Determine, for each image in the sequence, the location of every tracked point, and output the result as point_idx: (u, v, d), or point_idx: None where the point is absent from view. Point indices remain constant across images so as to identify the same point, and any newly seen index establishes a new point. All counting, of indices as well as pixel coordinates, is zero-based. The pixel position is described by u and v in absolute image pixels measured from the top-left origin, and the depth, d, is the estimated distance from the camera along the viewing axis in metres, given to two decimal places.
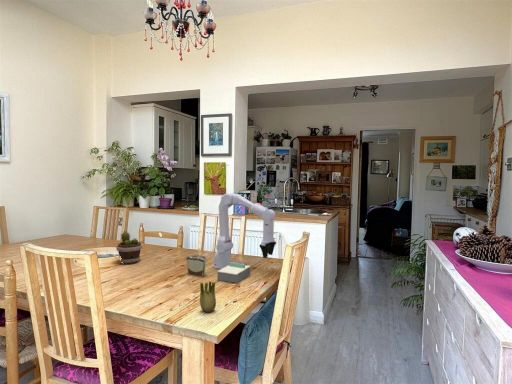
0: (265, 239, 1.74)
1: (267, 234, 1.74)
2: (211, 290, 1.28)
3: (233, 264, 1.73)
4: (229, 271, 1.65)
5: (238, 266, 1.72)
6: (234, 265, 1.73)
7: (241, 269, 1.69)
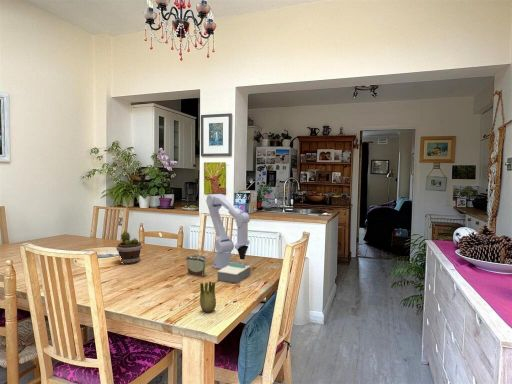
0: (239, 242, 1.76)
1: (241, 237, 1.75)
2: (211, 290, 1.28)
3: (233, 264, 1.73)
4: (229, 271, 1.65)
5: (238, 266, 1.72)
6: (234, 265, 1.73)
7: (241, 269, 1.69)
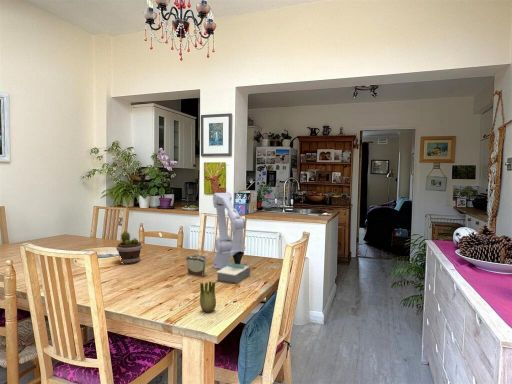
0: (234, 248, 1.71)
1: (236, 243, 1.70)
2: (211, 290, 1.28)
3: (232, 265, 1.72)
4: (228, 272, 1.64)
5: (237, 267, 1.71)
6: (233, 266, 1.72)
7: (240, 270, 1.68)
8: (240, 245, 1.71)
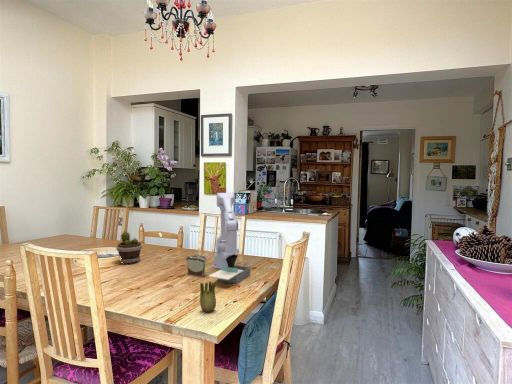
0: (227, 251, 1.64)
1: (229, 246, 1.63)
2: (211, 290, 1.28)
3: (225, 268, 1.66)
4: (221, 276, 1.57)
5: (230, 270, 1.64)
6: (226, 269, 1.65)
7: (233, 273, 1.61)
8: (233, 248, 1.64)
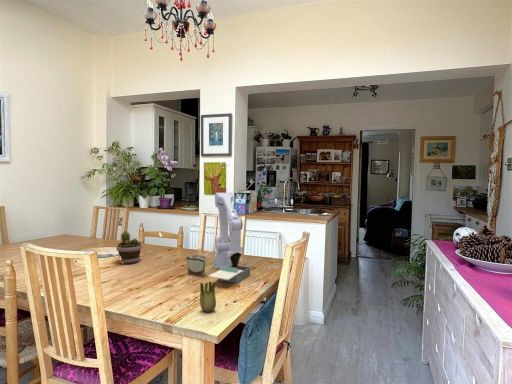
0: (231, 249, 1.68)
1: (233, 244, 1.68)
2: (211, 290, 1.28)
3: (225, 268, 1.66)
4: (220, 276, 1.57)
5: (230, 270, 1.64)
6: (226, 269, 1.65)
7: (233, 274, 1.61)
8: (237, 246, 1.68)
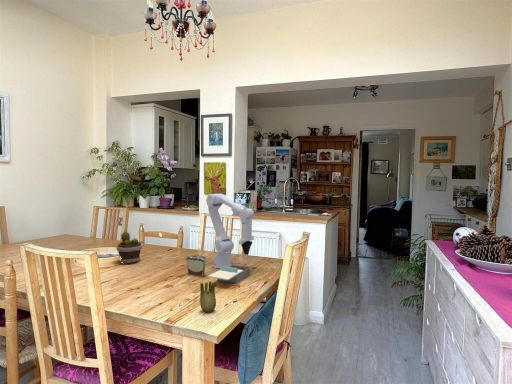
0: (243, 238, 1.76)
1: (245, 233, 1.75)
2: (211, 290, 1.28)
3: (225, 268, 1.66)
4: (220, 276, 1.57)
5: (230, 270, 1.64)
6: (226, 269, 1.65)
7: (233, 274, 1.61)
8: (249, 234, 1.75)
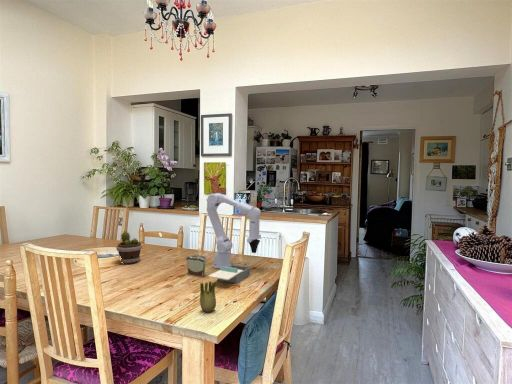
0: (251, 236, 1.80)
1: (253, 231, 1.80)
2: (211, 290, 1.28)
3: (225, 268, 1.66)
4: (220, 276, 1.57)
5: (230, 270, 1.64)
6: (226, 269, 1.65)
7: (233, 274, 1.61)
8: (257, 233, 1.80)
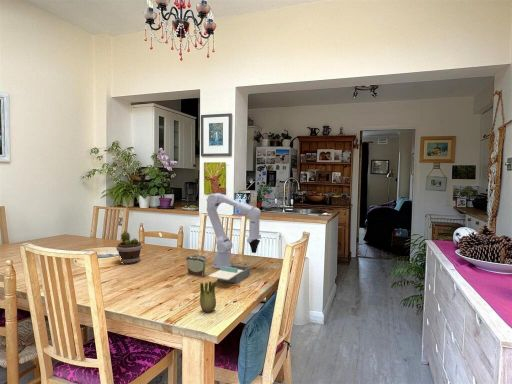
0: (251, 236, 1.80)
1: (253, 231, 1.80)
2: (211, 290, 1.28)
3: (225, 268, 1.66)
4: (220, 276, 1.57)
5: (230, 270, 1.64)
6: (226, 269, 1.65)
7: (233, 274, 1.61)
8: (257, 233, 1.80)
